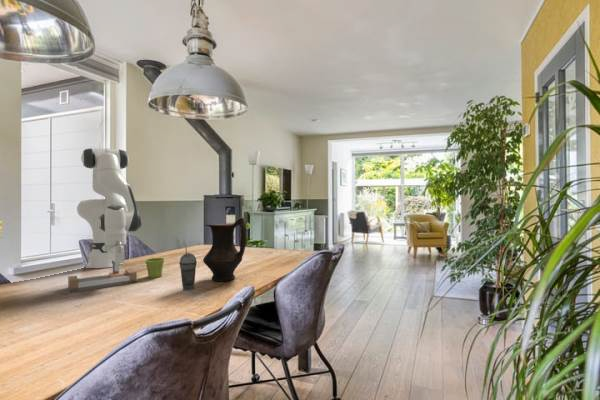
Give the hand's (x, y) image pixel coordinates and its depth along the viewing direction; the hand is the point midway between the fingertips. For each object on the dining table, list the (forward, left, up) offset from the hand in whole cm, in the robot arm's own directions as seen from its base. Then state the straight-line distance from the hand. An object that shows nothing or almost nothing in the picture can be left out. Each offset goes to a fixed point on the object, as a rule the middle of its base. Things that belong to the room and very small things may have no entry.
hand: (116, 270), depth 160 cm
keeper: (0, 0, -4) cm, 4 cm away
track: (0, -5, -6) cm, 8 cm away
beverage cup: (+32, +23, -6) cm, 40 cm away
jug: (+26, +43, -6) cm, 50 cm away
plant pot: (-2, +18, -6) cm, 19 cm away
